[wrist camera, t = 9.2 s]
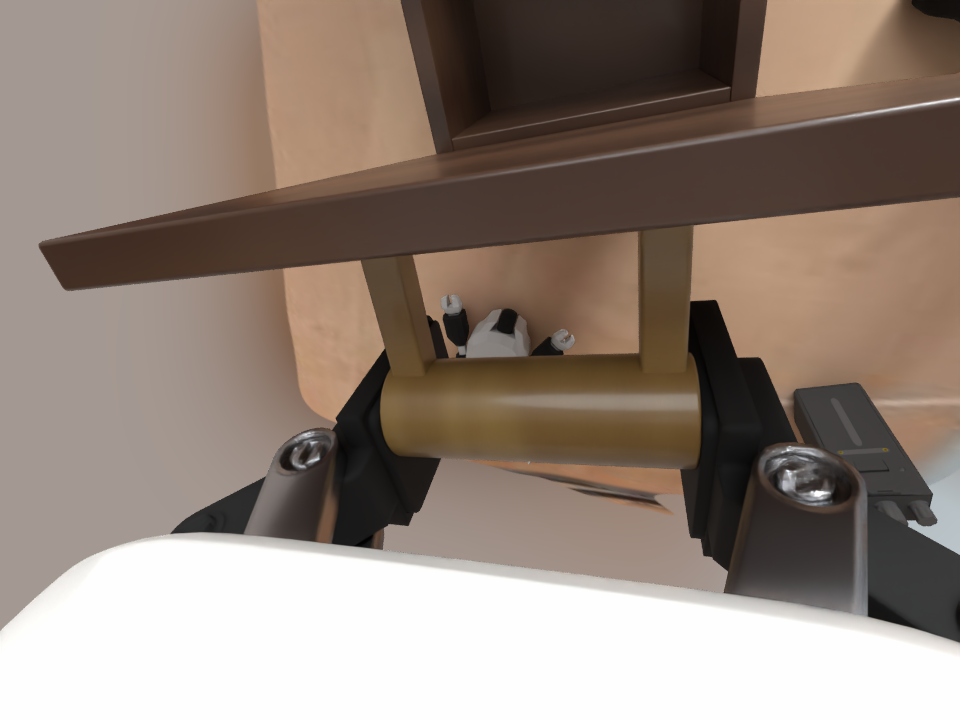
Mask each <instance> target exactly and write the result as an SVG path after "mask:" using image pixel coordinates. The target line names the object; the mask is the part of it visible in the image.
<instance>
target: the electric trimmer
mask: <svg viewBox="0 0 960 720" xmlns="http://www.w3.org/2000/svg"><path fill="white" fill-rule="evenodd" d="M912 5H913V6H914V7H915V8H917V9H918V10H920V11H921V12H922V13H924V14H927V15H930V16H934V17H941V18H948V19H954V20H956V21H958V22H960V0H912Z"/></svg>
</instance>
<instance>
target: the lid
mask: <svg viewBox="0 0 960 720" xmlns="http://www.w3.org/2000/svg"><path fill="white" fill-rule="evenodd" d="M957 197H960V73H955V74H947V75H939V76H930V77H922V78H914V79H905V80H897V81H889V82H881V83H872V84H864V85H856V86H848V87H839V88H831V89H823V90H814V91H806V92H798V93H790V94H781V95H773V96H765V97H756V98H751V99H745V100H740V101H734V102H728V103H723V104H717V105H711V106H706V107H700V108H694V109H689V110H683V111H678V112H672V113H666V114H661V115H655V116H649V117H644V118H638V119H633V120H627V121H621V122H616V123H610V124H604V125H599V126H593V127H588V128H582V129H576V130H571V131H565V132H559V133H554V134H548V135H543V136H537V137H531V138H526V139H520V140H514V141H509V142H503V143H498V144H492V145H486V146H481V147H475V148H469V149H464V150H458V151H452V152H447V153H441V154H436V155H431V156H426V157H422V158H417V159H413V160H408V161H404V162H399V163H395V164H390V165H386V166H381V167H376V168H372V169H367V170H363V171H358V172H354V173H349V174H345V175H340V176H336V177H331V178H327V179H322V180H318V181H313V182H309V183H304V184H299V185H295V186H290V187H286V188H281V189H277V190H272V191H268V192H264V193H259V194H255V195H250V196H245V197H241V198H236V199H232V200H227V201H222V202H218V203H213V204H209V205H204V206H200V207H195V208H191V209H186V210H182V211H177V212H173V213H168V214H164V215H160V216H155V217H150V218H146V219H141V220H136V221H132V222H127V223H123V224H118V225H114V226H109V227H105V228H100V229H96V230H91V231H87V232H82V233H78V234H73V235H68V236H64V237H60V238H55V239H50V240H46V241H42V242H41V243H40V244H39V249H40V250H41V252H42V253H43V255H44V257H45V259H46V260H47V262H48V264H49V265H50V267H51V269H52V270H53V272H54V274H55V276H56V277H57V279H58V280H59V282H60V284H61V286H62V287H63V288H64V289H65V290H67V291H74V290H84V289H93V288H103V287H112V286H122V285H131V284H141V283H149V282H160V281H169V280H179V279H188V278H198V277H207V276H216V275H226V274H236V273H245V272H254V271H264V270H274V269H283V268H293V267H302V266H312V265H321V264H330V263H340V262H349V261H359V260H361V264H362V267H363V271H364V274H365V278H366V282H367V285H368V289H369V292H370V296H371V299H372V303H373V306H374V310H375V313H376V317H377V320H378V324H379V328H380V331H381V335H382V338H383V342H384V345H385V349H386V352H387V356H388V359H389V363H390V366H391V369H390V370H389V372H388V374H387V376H386V379H385V381H384V384H383V388H382V393H381V401H380V420H381V427H382V432H383V436H384V439H385V441H386V443H387V445H388V447H389V448H390V450H391V451H392V452H393V453H395V454H396V455H398V456H405V457H426V458H449V459H470V460H491V461H513V462H535V463H556V464H578V465H599V466H621V467H643V468H664V469H686V470H694V469H696V468H697V466H698V463H699V459H700V452H701V439H702V413H701V396H700V385H699V378H698V372H697V367H696V363H695V360H694V357H693V355H692V354H691V353H690V352H688V339H689V316H690V294H691V271H692V249H693V227H694V225H700V224H710V223H719V222H729V221H738V220H748V219H757V218H767V217H776V216H786V215H795V214H805V213H814V212H824V211H833V210H843V209H852V208H862V207H871V206H881V205H890V204H900V203H909V202H919V201H928V200H938V199H947V198H957ZM634 231H638V307H639V353H628V354H591V355H554V356H517V357H480V358H443V359H436V354H435V350H434V346H433V341H432V337H431V333H430V328H429V324H428V320H427V315H426V311H425V307H424V302H423V298H422V294H421V289H420V285H419V281H418V276H417V272H416V268H415V263H414V259H413V255H416V254H425V253H435V252H444V251H454V250H463V249H473V248H482V247H492V246H501V245H511V244H520V243H530V242H539V241H549V240H558V239H568V238H577V237H587V236H596V235H606V234H615V233H625V232H634Z"/></svg>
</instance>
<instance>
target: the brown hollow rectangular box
mask: <svg viewBox="0 0 960 720" xmlns="http://www.w3.org/2000/svg"><path fill="white" fill-rule="evenodd" d="M401 4H402V9H403V13H404V17H405V21H406V26H407V30H408V34H409V38H410V43H411V47H412V51H413V55H414V60H415V64H416V68H417V72H418V77H419V81H420V85H421V89H422V94H423V98H424V102H425V106H426V111H427V115H428V119H429V123H430V128H431V132H432V136H433V140H434V145H435V149H436V153H437V154H441V153H447V152H452V151H458V150H464V149H469V148H475V147H481V146H486V145H492V144H498V143H503V142H509V141H514V140H520V139H526V138H531V137H537V136H543V135H548V134H554V133H559V132H565V131H571V130H576V129H582V128H588V127H593V126H599V125H604V124H610V123H616V122H621V121H627V120H633V119H638V118H644V117H649V116H655V115H661V114H666V113H672V112H678V111H683V110H689V109H694V108H700V107H706V106H711V105H717V104H723V103H728V102H734V101H740V100H745V99H751V98H755V95H756V87H757V79H758V71H759V63H760V55H761V47H762V39H763V31H764V23H765V15H766V6H767V0H401Z"/></svg>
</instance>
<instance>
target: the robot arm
mask: <svg viewBox="0 0 960 720" xmlns="http://www.w3.org/2000/svg"><path fill="white" fill-rule="evenodd" d="M427 320H428V324H429V328H430V333H431V337H432V341H433V346H434V350H435V354H436V359H443V358H449V357H448V353H447V350H446V346H445V343H444V339H443V336H442V332H441V328H440V325H439V323H438V321H436V320H435V321H433V320H432V318H431V317H430V316H429V315H427ZM688 352H690V353H691V354H692V355H693V357H694V360H695V363H696V367H697V372H698V378H699V385H700V396H701V413H702V439H701V452H700V459H699V463H698V466H697V468H696V469H694V470H686V469H680V471H681V478H682V485H683V492H684V498H685V506H686V513H687V519H688V526H689V533H690V537H691V538H698V539H701V543H702V549H703V555H704V556H709V557H713V560H715V561H716V562H717V563H718V564H720V565H721V566H722V567H723V568H724V569H726V570H727V571H728V576H727V580H726V585H725V589H724V593H718V592H711V591H705V590H698V589H691V588H683V587H676V586H668V585H660V584H652V583H644V582H636V581H628V580H620V579H613V578H605V577H597V576H589V575H581V574H573V573H566V572H558V571H550V570H542V569H534V568H526V567H518V566H509V565H502V564H494V563H485V562H477V561H469V560H461V559H453V558H445V557H437V556H428V555H420V554H412V553H404V552H396V551H387V550H383V542H384V527H386V526H388V524H395V525H405V526H409V523H410V521H411V518H412V516H413V514H414V512H415V513H417V512H419V511H420V509H421V507H422V505H423V502H424V500H425V497H426V495H427V492H428V490H429V487H430V485H431V482H432V480H433V477H434V475H435V472H436V470H437V467H438V465H439V462H440V460H441V458H426V457H405V456H398V455H396V454H395V453H393V452H392V451H391V450H390V448H389V447H388V445H387V443H386V441H385V439H384V436H383V432H382V427H381V420H380V401H381V393H382V388H383V384H384V381H385V379H386V376H387V374H388V372H389V370H390V369H391V366H390V363H389V359H388V356H387V352H386V349H384V351H383V352H382V353H381V355H380V356H379V358H378V359H377V360H376V362H375V363H374V365H373V366H372V367H371V369H370V370H369V372H368V373H367V375H366V376H365V377H364V379H363V380H362V382H361V383H360V384H359V386H358V387H357V389H356V390H355V392H354V393H353V394H352V396H351V397H350V399H349V400H348V401H347V403H346V404H345V406H344V407H343V408H342V410H341V411H340V413H339V414H338V416H337V417H336V420H337V422H338V423H337V424H336V425H335V427H334V428H333V430H330V429H328V428H314V429H310V430H307V431H304V432H301V433H299V434H297V435H296V436H294V437H292V438H291V439H289V440H288V441H287V442H285V443H284V444H283V445H282V446H281V447H280V448H279V449H278V451H277V453H276V454H275V456H274V458H273V460H272V463H271V465H270V468H269V470H268V473H267V475H266V477H264V478H262V479H260V480H258V481H256V482H255V483H252V484H250V485H249V486H246V487H244V488H242V489H241V490H239V491H237V492H235V493H233V494H231V495H229V496H227V497H225V498H223V499H221V500H219V501H217V502H215V503H213V504H211V505H210V506H208V507H205V508H204V509H202V510H200V511H198V512H196V513H194V514H193V515H191V516H190V517H188V518H186V519H185V520H184V521H182V522H181V523H180V524H179V525H178V526H177V527H176V528H175V529H174V530H173V531H172V532H171V534H169V535H162V536H156V537H149V538H143V539H140V540H136V541H133V542H129V543H125V544H122V545H118V546H115V547H113V548H110V549H107V550H104V551H102V552H100V553H97V554H95V555H93V556H90V557H88V558H86V559H85V560H83V561H81V562H79V563H78V564H76V565H75V566H73V567H72V568H70V569H69V570H68V571H66V572H65V573H64V574H63V575H61V576H60V577H59V578H58V579H57V580H56V581H54V582H53V583H52V584H51V585H50V586H49V587H47V588H46V589H45V590H44V591H43V592H42V593H40V594H39V595H38V596H37V597H36V598H35V599H34V600H33V601H31V602H30V603H29V604H28V605H27V606H26V607H25V608H24V609H23V610H22V611H21V612H20V613H19V614H18V615H17V616H16V617H15V618H13V619H12V620H11V621H10V622H9V623H8V624H7V625H6V626H5V627H4V628H3V629H2V630H1V631H0V720H960V555H958V554H957V553H955V552H953V551H951V550H950V549H948V548H946V547H944V546H942V545H941V544H939V543H937V542H935V541H933V540H931V539H930V538H928V537H926V536H924V535H923V534H921V533H919V532H917V531H915V530H913V529H912V528H910V527H908V526H906V525H904V524H903V523H901V522H899V521H897V520H895V519H894V518H892V517H890V516H888V515H886V514H885V513H883V512H881V511H879V510H877V509H875V508H874V507H872V506H870V505H868V504H867V489H866V485H865V481H864V479H863V478H862V476H861V475H860V474H859V472H858V471H857V470H856V468H855V467H853V466H852V465H851V464H850V463H848V462H847V461H846V460H845V459H843V458H842V457H840V456H838V455H836V454H834V453H832V452H830V451H828V450H826V449H823V448H820V447H817V446H814V445H810V444H803V443H798V441H797V439H796V437H795V435H794V432H793V430H792V428H791V425H790V423H789V421H788V418H787V416H786V414H785V411H784V409H783V407H782V405H781V402H780V400H779V398H778V395H777V393H776V391H775V388H774V386H773V384H772V381H771V379H770V377H769V375H768V372H767V370H766V368H765V365H764V363H763V361H762V360H761V359H760V358H758V357H752V358H737V355H736V353H735V350H734V347H733V344H732V342H731V339H730V336H729V333H728V331H727V328H726V325H725V322H724V320H723V317H722V314H721V311H720V309H719V306H718V303H717V301H716V300H706V301H690V316H689V339H688Z"/></svg>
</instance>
